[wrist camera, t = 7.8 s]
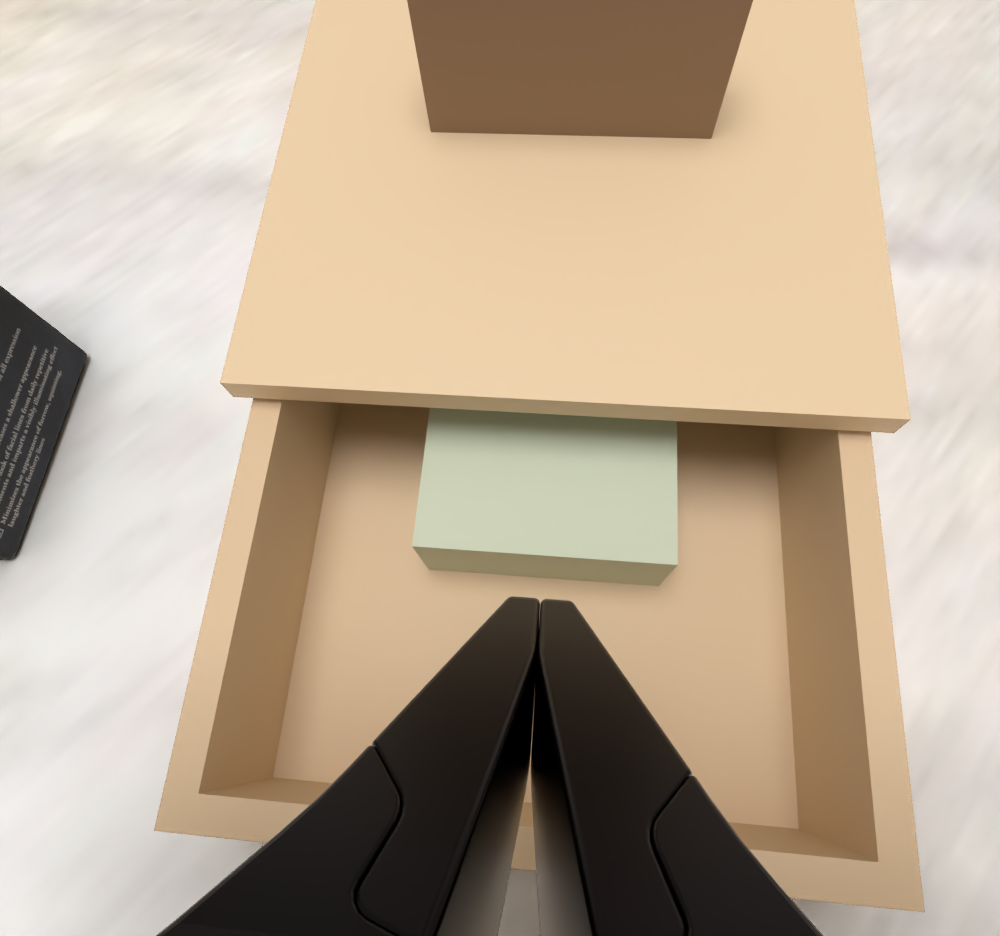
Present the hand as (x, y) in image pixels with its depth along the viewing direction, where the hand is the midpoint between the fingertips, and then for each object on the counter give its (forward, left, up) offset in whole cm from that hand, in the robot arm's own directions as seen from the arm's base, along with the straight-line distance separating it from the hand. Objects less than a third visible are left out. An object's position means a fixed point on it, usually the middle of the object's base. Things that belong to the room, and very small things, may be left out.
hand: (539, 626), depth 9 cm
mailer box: (+5, -2, -12) cm, 13 cm away
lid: (+15, -7, -7) cm, 18 cm away
